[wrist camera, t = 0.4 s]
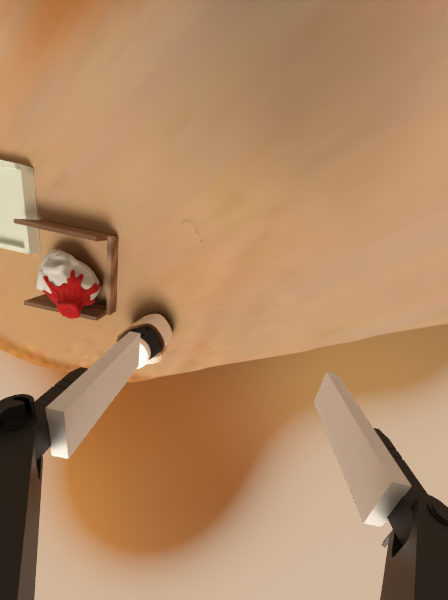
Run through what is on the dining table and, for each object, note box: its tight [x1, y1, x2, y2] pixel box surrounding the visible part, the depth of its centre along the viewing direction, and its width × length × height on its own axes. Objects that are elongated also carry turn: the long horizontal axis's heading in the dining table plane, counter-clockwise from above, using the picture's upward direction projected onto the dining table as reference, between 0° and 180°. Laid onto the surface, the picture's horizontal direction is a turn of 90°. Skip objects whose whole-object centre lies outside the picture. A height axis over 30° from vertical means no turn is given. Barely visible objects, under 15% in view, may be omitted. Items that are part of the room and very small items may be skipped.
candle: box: [36, 249, 101, 319], centre depth 43 cm, size 9×11×15 cm
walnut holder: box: [14, 219, 118, 321], centre depth 45 cm, size 18×17×6 cm
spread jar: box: [117, 314, 172, 369], centre depth 46 cm, size 12×11×12 cm
